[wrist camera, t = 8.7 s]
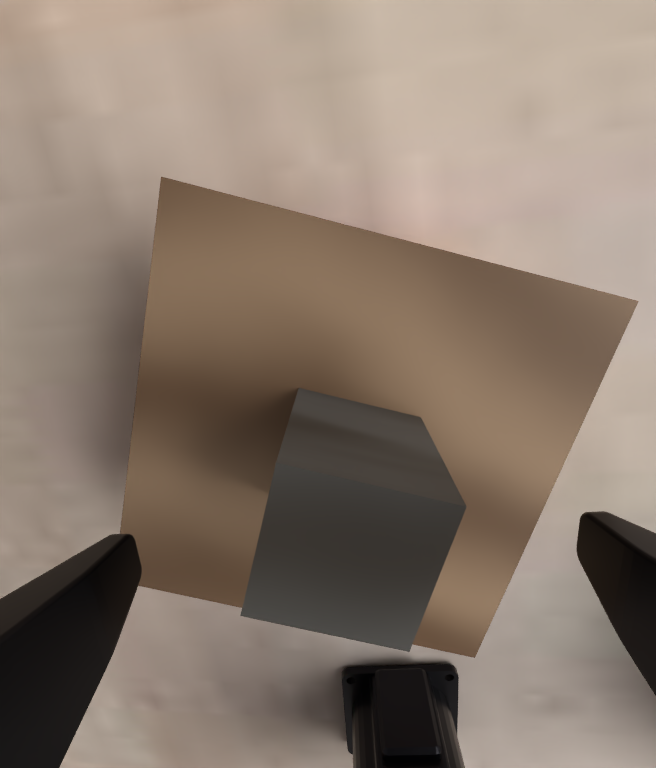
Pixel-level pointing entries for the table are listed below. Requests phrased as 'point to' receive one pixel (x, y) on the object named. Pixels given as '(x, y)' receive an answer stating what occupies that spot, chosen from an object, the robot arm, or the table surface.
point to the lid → (349, 420)
